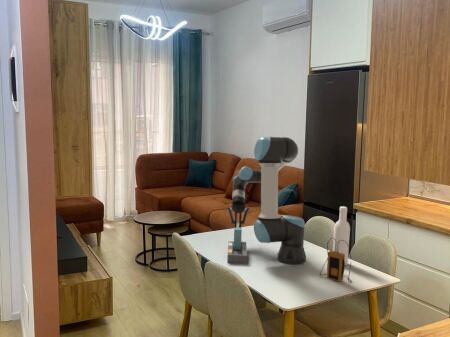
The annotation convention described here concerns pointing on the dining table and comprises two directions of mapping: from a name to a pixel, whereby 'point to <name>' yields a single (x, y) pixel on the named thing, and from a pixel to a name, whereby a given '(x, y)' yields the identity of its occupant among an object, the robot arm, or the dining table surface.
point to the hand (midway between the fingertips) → (237, 234)
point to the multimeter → (336, 265)
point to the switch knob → (237, 238)
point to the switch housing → (237, 253)
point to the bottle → (342, 234)
